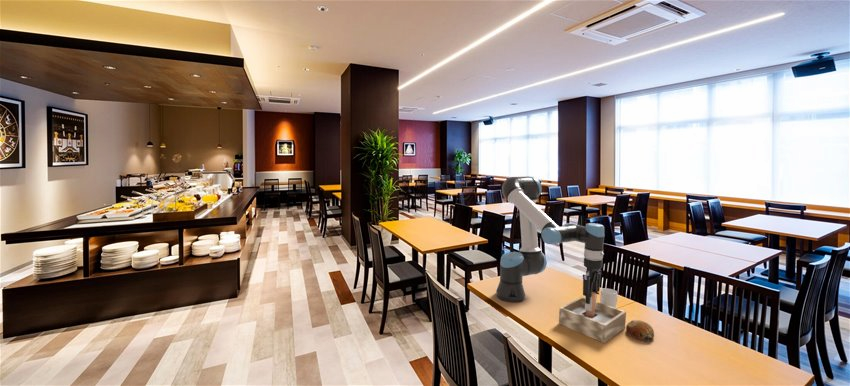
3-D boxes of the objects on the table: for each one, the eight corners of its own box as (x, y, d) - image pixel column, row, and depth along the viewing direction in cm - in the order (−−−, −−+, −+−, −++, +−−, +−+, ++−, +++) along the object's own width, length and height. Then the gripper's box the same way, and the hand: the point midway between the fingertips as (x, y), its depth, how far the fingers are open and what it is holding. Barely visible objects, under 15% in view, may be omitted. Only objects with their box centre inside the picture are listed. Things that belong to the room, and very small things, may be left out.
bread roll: (650, 341, 143) (649, 322, 146) (658, 343, 134) (657, 322, 137) (624, 337, 147) (623, 318, 149) (630, 338, 137) (629, 318, 140)
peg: (584, 317, 152) (585, 292, 151) (587, 315, 154) (589, 290, 153) (592, 320, 149) (593, 294, 148) (595, 318, 151) (597, 292, 150)
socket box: (558, 323, 151) (559, 307, 150) (580, 311, 163) (581, 296, 162) (604, 343, 135) (605, 325, 134) (625, 327, 148) (626, 311, 147)
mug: (608, 319, 155) (610, 294, 154) (596, 313, 161) (597, 289, 160) (622, 315, 159) (624, 291, 158) (609, 309, 165) (611, 286, 164)
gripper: (593, 264, 141) (589, 317, 143) (610, 257, 151) (607, 306, 153) (575, 259, 147) (573, 310, 149) (593, 253, 157) (590, 301, 159)
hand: (590, 308), depth 151 cm, fingers closed on peg, 3 cm apart
